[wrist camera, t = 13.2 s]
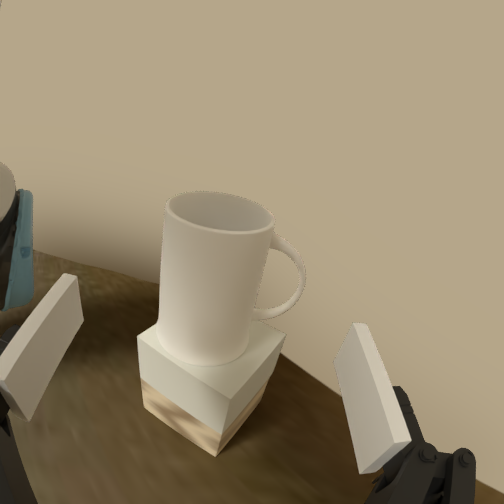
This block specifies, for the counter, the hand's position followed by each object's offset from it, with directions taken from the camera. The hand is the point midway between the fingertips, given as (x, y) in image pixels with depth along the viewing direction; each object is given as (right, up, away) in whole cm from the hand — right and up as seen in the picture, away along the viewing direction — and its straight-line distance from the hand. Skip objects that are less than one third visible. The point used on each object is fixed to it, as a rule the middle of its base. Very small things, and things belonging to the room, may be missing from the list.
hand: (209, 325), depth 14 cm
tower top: (-3, -10, +17) cm, 19 cm away
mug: (-1, -5, +14) cm, 15 cm away
